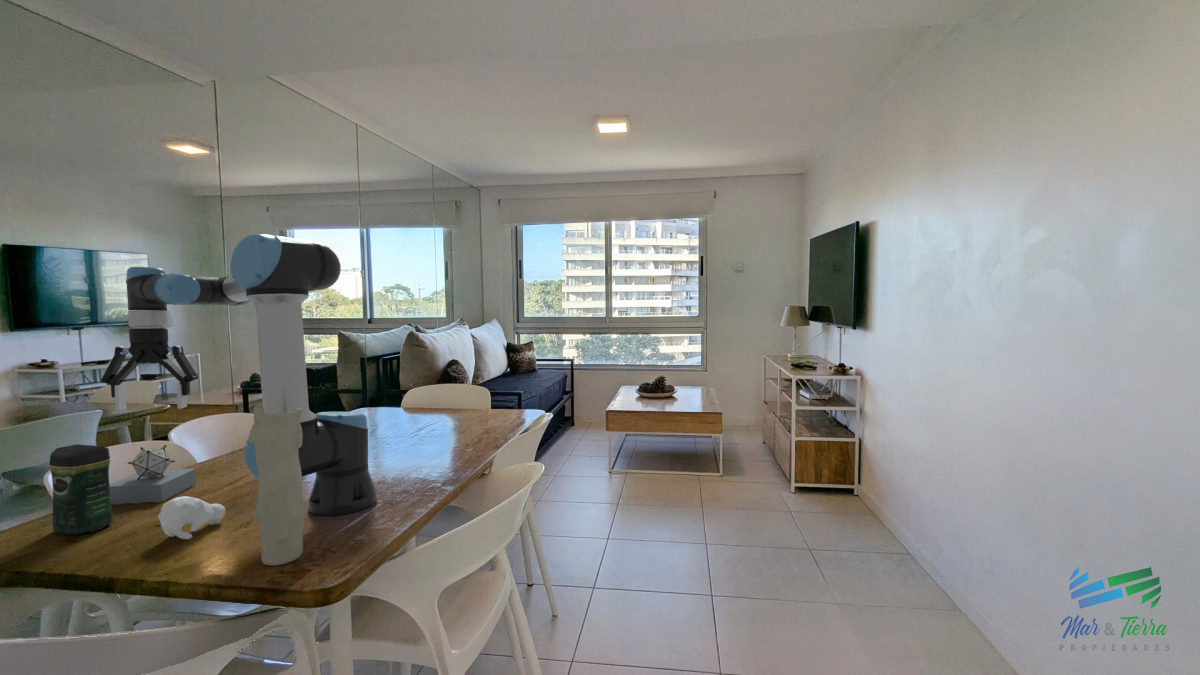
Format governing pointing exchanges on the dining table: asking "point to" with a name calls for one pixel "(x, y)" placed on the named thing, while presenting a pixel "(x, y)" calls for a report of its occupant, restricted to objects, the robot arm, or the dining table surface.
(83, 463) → the coffee jar
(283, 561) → the vase
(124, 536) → the dining table surface
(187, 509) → the white animal figurine
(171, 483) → the grey square block
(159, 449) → the game die
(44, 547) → the dining table surface
